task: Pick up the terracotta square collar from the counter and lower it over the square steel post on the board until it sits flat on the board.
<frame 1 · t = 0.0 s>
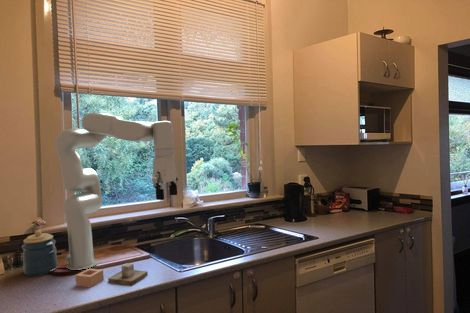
hand: (167, 197, 143), 31 cm above the counter, tool pointing down, fingers open, 9 cm apart
post board: (128, 278, 144), on the counter
canister: (41, 271, 157), on the counter
collar: (90, 282, 142), on the counter
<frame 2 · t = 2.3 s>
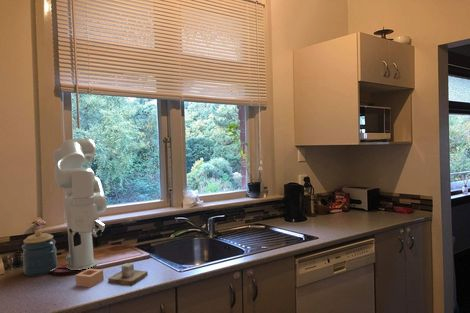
hand: (87, 245, 140), 15 cm above the counter, tool pointing down, fingers open, 9 cm apart
nothing on the counter moved.
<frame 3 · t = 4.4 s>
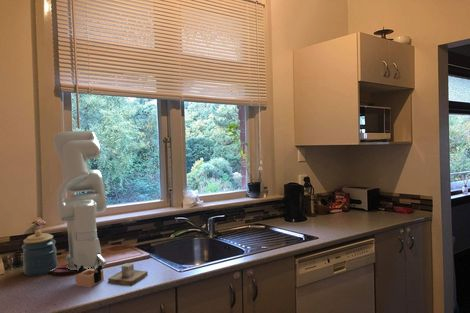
hand: (90, 280, 142), 1 cm above the counter, tool pointing down, fingers closed on collar, 7 cm apart
collar: (90, 282, 142), on the counter, touching gripper
everything else where it was.
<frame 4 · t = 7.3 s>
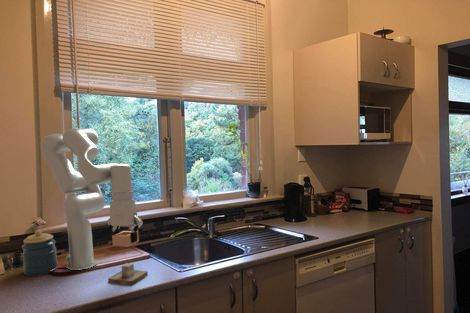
hand: (126, 241, 143), 15 cm above the counter, tool pointing down, fingers closed on collar, 7 cm apart
collar: (126, 243, 143), point 14 cm above the counter, touching gripper
everything else where it was.
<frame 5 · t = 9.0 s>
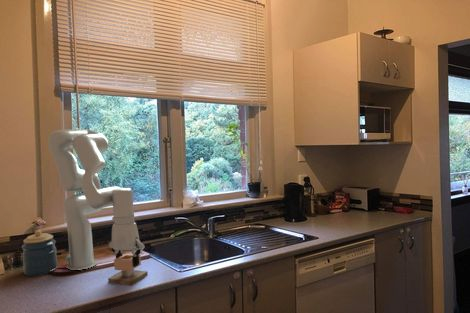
hand: (127, 264, 143), 6 cm above the counter, tool pointing down, fingers closed on collar, 7 cm apart
collar: (128, 267, 143), point 5 cm above the counter, touching gripper
everything else where it was.
when the fingers open (3 cm above the counter, at t = 10.4 s): collar stays where it is, resting on post board.
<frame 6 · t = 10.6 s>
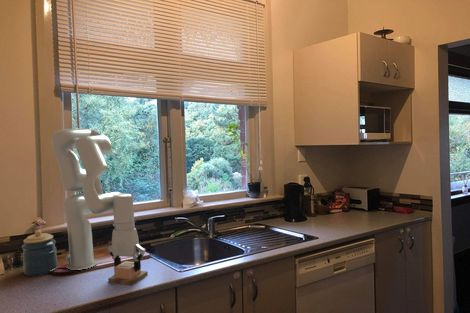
hand: (127, 269, 143), 4 cm above the counter, tool pointing down, fingers open, 8 cm apart
collar: (127, 274, 144), point 1 cm above the counter, touching post board
everything else where it was.
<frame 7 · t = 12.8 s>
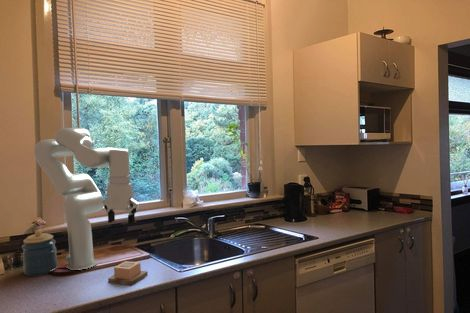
hand: (121, 222, 146), 21 cm above the counter, tool pointing down, fingers open, 9 cm apart
nothing on the counter moved.
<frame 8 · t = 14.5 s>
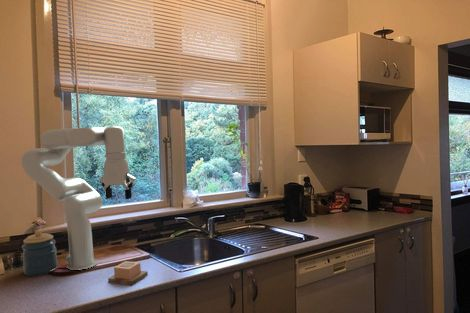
hand: (118, 198, 151), 30 cm above the counter, tool pointing down, fingers open, 9 cm apart
nothing on the counter moved.
at the end: collar 0.1 cm off-centre on the post board, point 1.5 cm above the post board's base; collar tilted 0°; the gripper is holding nothing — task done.
